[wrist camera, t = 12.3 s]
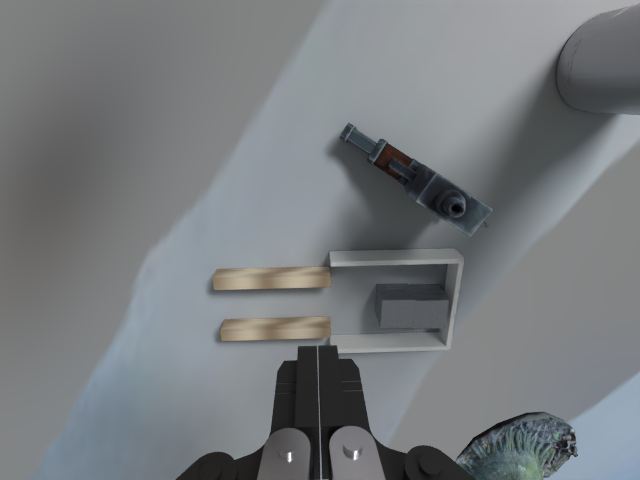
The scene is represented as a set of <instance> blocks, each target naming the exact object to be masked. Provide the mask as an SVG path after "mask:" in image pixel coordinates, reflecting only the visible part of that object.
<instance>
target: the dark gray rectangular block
mask: <svg viewBox="0 0 640 480" xmlns="http://www.w3.org/2000/svg"><path fill="white" fill-rule="evenodd" d="M415 304H416V299H415V297H414V295H413V293H412V291H411V289H410V287H409V285H408V283H406V284H377V288H376V303H375V312H376V315H377V318H378V322H379V325H380V328H413V321H414V312H415Z"/></svg>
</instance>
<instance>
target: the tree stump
mask: <svg viewBox="0 0 640 480" xmlns="http://www.w3.org/2000/svg"><path fill="white" fill-rule="evenodd" d="M555 444H556V445H555ZM575 444H576V437H575V432H574V430H573V428H572V427H571V426H570V425H568V424H567V423H566V422H565V421H564V420H562V419H560V418H558V417H555V416H553V415H551V414H548V413H546V412H531V413H525V414H522V415H519V416H516V417H513V418H511V419H508V420H505V421H502V422H500V423H497V424H496V425H494V426H492V427H491V428H489V429H487V430H486V431H484V432H482V433H481V434H479V435H477V436H476V437H474V438H473V439H472V440H471V442H470V443H469V444H468V445H467V447H466V448H465V449H464V450H463V451H462V452H461V454H460V455H459V456H458V457H457V459H456V463H457V464H458V465H459V466H460V467H462V468H463V469H464V470H465V471H467V472H468V473H469V474H470V475H472V476H473V477H474V478H475V479H477V480H543V478H545V477H546V478H548V477H550V475H552V474H553V473H555V472H556V471H557V470H558V469H559V468H560V467H561V466H562V465H563V464H564V463H565V462H566V461H567V460H569V458H570V456H571V455H574V457H577V456H578V455H577V448H576V447H575ZM554 445H555V446H554Z"/></svg>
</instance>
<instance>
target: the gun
mask: <svg viewBox="0 0 640 480" xmlns="http://www.w3.org/2000/svg"><path fill="white" fill-rule="evenodd" d="M340 138H341V139H342V140H344V141H345V142H350V143H352V144H353V145H355V146H356V147H358V148H360V149H361V150H363V151H364V152H366V153H367V154H369V157H368V159H367V161H368V162H369V163H370V164H372V165H373V164H374V165H375V166H377V167H378V168H380V169H381V170H383V171H385V172H386V173H388V174H389V175H391V176H392V177H394V178H395V179H397V180H398V182H400V183H401V184H403V185H404V186H405V189H406V192H407V195H409V196H410V197H411V198H412V199H413V200H415V201H416V202H417V203H419V204H420V205H422V206H423V207H425V208H426V209H428V210H430V211H431V212H433V213H434V214H436V215H437V216H439V217H440V218H442V219H443V220H445V221H446V222H448V223H449V224H451V225H453V226H454V227H456V228H457V229H459V230H460V231H462V232H463V233H465V234H466V235H468V236H469V237H471V236H472V235H473V234H474V233H475V231H476V230H477V229H478V228H479V227H480V226H481V225H482V226H484V227H487V226H488V225H487V224H486V223H485V222H484V221H485V219H486V218H487V217H488V215H489V214H490V213H491V212H492V211H493V209H492V208H490V207H489V206H487V205H486V204H484V203H483V202H481V201H479V200H478V199H476V198H475V197H473V196H472V195H470V194H469V193H467V192H466V191H464V190H462V189H461V188H459V187H458V186H456V185H455V184H453V183H452V182H450V181H449V180H447V179H446V178H444V177H442V176H441V175H439V174H438V173H436V172H435V171H433V170H432V169H430V168H428V167H427V166H425V165H423V164H421V163H419V162H418V161H416V160H415V159H411V158H410V157H408V156H407V155H405V154H404V153H402V152H401V151H399V150H397V149H396V148H394V147H393V146H391V145H390V144H388V143H387V141H385V140H384V139H380V140H379V141H378V143H376V142H374V141H373V140H371V139H370V138H368V137H367V136H365V135H364V134H362V133H361V132H359V131H358V130H356V127H355V126H353V125H352V124H350V123H348V124H347V126H346V127H345V129H344V131H343V132H342V134H341V136H340Z"/></svg>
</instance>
